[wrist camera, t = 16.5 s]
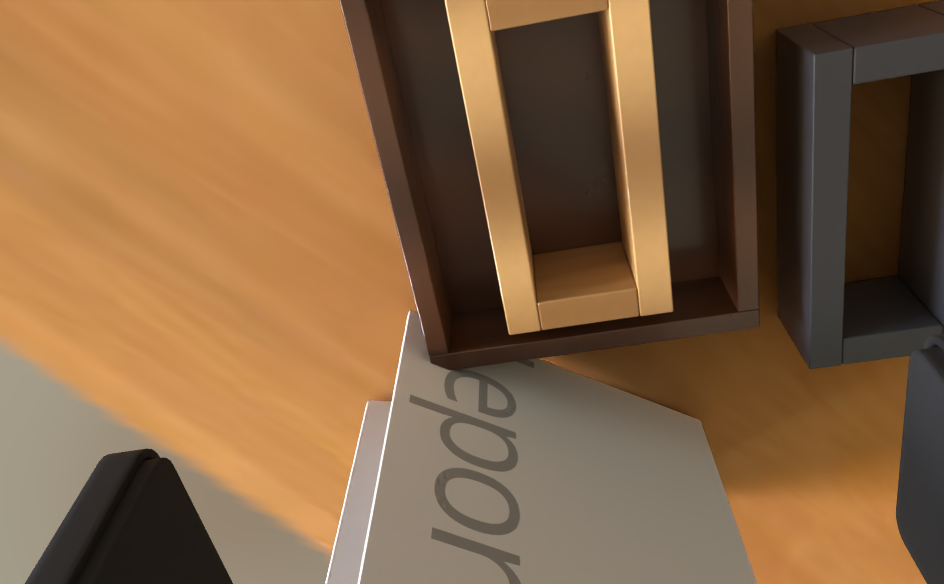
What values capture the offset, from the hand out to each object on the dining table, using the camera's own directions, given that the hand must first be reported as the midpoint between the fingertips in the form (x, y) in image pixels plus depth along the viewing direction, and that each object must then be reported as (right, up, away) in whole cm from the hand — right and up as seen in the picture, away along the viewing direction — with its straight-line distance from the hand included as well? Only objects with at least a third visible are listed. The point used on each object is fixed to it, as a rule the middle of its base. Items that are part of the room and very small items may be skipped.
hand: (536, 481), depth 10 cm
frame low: (+14, +7, +21) cm, 26 cm away
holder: (+2, +9, +20) cm, 22 cm away
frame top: (+2, +8, +20) cm, 22 cm away
